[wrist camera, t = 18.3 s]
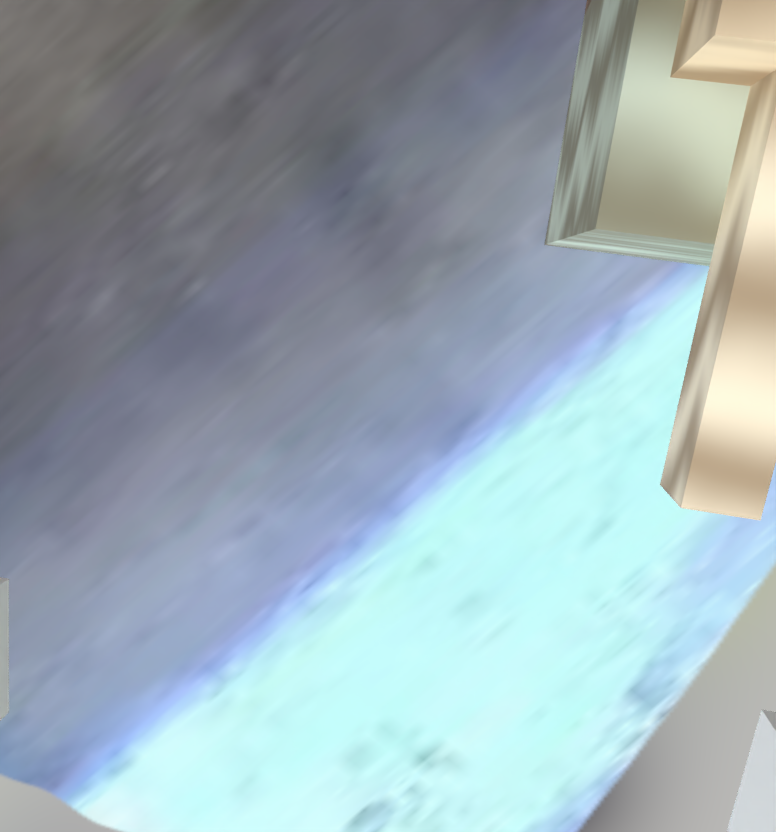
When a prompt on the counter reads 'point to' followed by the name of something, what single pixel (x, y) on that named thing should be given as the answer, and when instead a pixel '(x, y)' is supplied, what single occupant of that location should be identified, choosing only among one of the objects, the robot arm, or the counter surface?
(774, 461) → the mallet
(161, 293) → the counter surface
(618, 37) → the step stand
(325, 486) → the counter surface
